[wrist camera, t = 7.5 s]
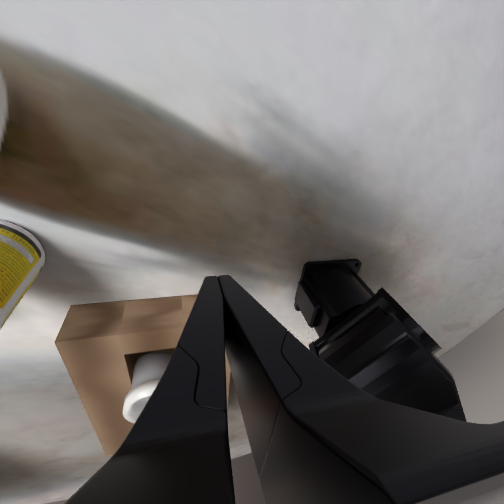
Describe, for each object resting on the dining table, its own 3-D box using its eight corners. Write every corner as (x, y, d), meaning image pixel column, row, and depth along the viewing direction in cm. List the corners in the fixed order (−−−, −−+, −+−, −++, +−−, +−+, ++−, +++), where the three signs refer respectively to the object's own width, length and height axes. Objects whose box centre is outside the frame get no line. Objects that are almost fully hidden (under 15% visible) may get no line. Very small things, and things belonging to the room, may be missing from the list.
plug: (182, 345, 24) (184, 386, 21) (184, 376, 27) (186, 418, 24) (125, 352, 23) (117, 398, 20) (133, 384, 26) (127, 429, 22)
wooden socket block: (227, 291, 27) (234, 321, 24) (221, 399, 38) (225, 430, 35) (71, 305, 24) (54, 342, 20) (112, 419, 34) (106, 455, 31)
